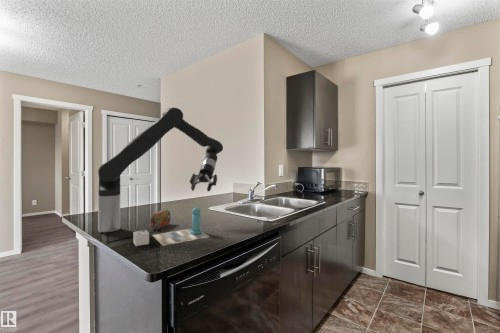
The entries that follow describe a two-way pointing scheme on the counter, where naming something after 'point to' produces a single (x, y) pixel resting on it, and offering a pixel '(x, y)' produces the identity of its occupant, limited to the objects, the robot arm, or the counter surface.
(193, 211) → the pawn
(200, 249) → the counter surface
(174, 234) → the board
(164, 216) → the mottled brown slab
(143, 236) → the die
